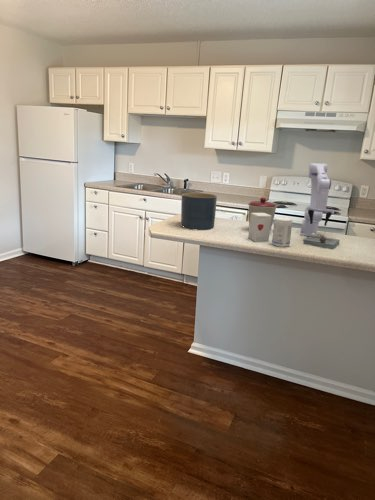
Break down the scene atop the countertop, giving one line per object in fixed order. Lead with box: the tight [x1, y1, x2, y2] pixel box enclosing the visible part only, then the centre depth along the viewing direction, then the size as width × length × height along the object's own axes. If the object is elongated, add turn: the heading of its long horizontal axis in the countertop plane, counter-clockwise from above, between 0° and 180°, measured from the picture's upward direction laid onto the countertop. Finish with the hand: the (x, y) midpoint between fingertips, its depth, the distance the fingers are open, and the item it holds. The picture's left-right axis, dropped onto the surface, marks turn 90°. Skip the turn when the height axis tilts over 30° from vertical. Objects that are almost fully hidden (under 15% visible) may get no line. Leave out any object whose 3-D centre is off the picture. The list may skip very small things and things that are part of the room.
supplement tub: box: [271, 216, 293, 248], centre depth 201 cm, size 10×10×15 cm
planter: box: [180, 192, 218, 231], centre depth 236 cm, size 22×22×20 cm
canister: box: [247, 197, 278, 230], centre depth 232 cm, size 18×18×21 cm
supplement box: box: [247, 213, 271, 242], centre depth 210 cm, size 9×9×15 cm
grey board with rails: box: [302, 235, 341, 250], centre depth 209 cm, size 16×15×3 cm
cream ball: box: [318, 231, 325, 237], centre depth 214 cm, size 3×3×3 cm
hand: (318, 224), depth 209 cm, fingers open, 7 cm apart
